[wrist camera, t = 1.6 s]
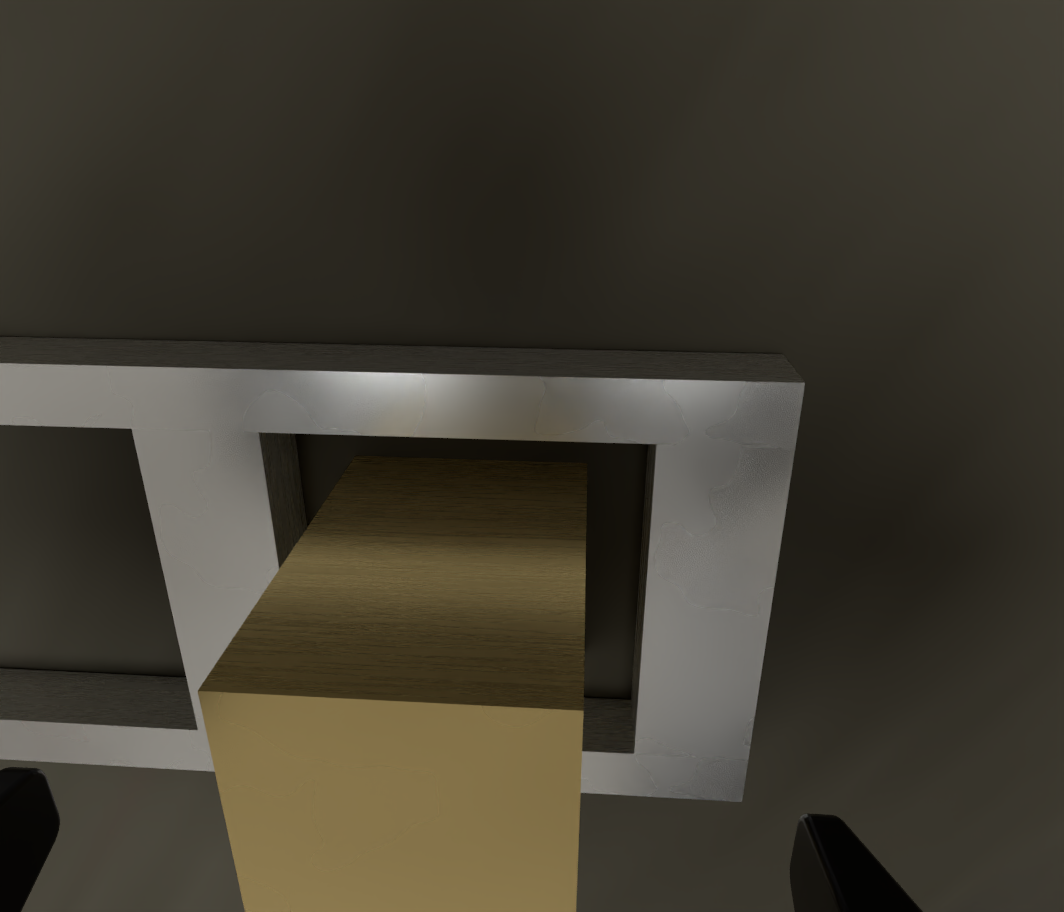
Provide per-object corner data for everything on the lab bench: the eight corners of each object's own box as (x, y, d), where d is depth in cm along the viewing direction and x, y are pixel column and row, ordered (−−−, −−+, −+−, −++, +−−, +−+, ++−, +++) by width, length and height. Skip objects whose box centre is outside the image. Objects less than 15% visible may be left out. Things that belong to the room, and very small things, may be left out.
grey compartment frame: (783, 354, 12) (810, 389, 11) (729, 745, 16) (744, 815, 14) (-709, 320, 14) (-871, 348, 12) (-476, 681, 17) (-581, 737, 16)
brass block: (587, 462, 13) (583, 710, 8) (580, 653, 15) (574, 968, 10) (355, 456, 14) (197, 691, 8) (374, 643, 15) (252, 944, 10)
